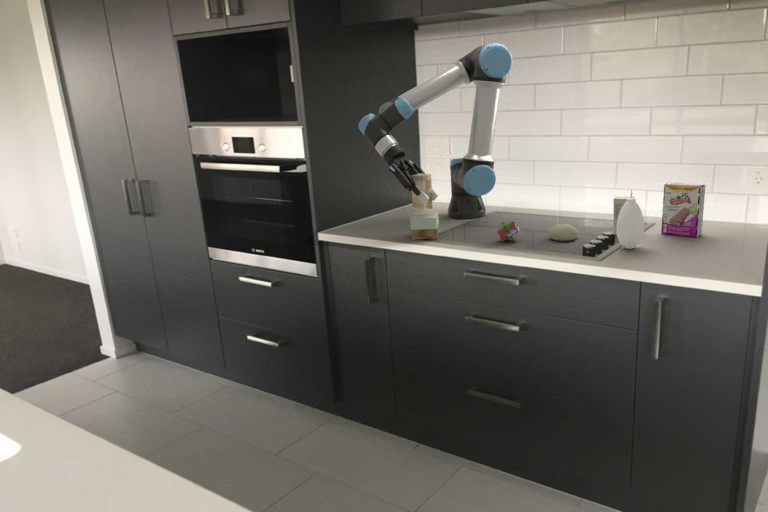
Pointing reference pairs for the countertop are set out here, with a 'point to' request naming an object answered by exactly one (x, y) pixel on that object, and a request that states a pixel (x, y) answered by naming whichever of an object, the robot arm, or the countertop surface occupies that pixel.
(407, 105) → the robot arm
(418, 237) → the tower base block
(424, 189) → the tall oak block
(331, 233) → the countertop surface
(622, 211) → the white air blower bulb
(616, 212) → the skincare box
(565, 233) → the sea urchin shell
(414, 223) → the tower top block
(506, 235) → the geometric puzzle
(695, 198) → the candy bar box
